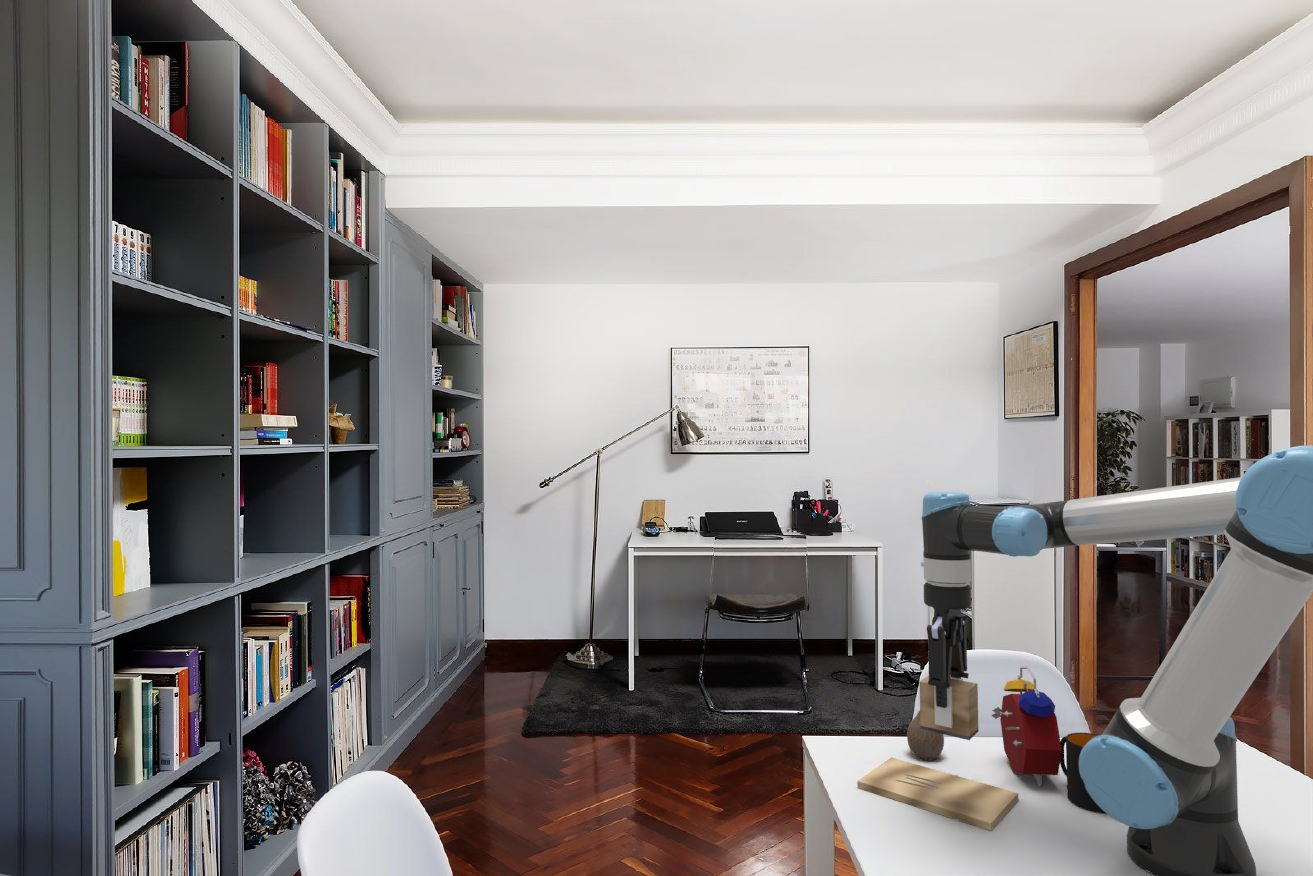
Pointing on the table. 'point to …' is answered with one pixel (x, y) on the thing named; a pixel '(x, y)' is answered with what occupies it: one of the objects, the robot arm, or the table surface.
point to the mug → (1077, 771)
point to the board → (940, 792)
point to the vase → (924, 741)
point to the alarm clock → (1029, 729)
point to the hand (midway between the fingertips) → (949, 720)
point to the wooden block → (961, 707)
